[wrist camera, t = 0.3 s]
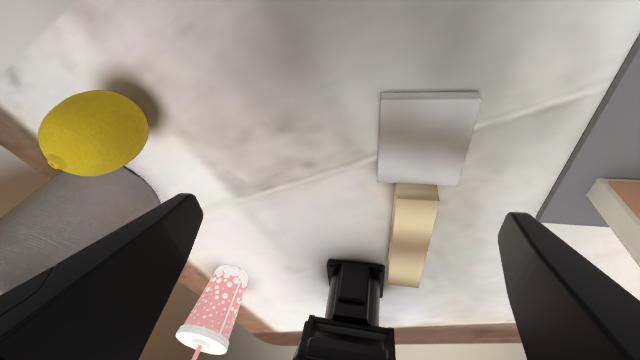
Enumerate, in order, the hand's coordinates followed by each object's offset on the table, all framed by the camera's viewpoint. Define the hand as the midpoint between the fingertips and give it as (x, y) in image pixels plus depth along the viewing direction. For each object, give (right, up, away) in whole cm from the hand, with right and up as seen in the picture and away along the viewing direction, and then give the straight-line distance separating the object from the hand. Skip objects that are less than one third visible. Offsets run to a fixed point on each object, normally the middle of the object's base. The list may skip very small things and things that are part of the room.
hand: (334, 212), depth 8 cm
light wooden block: (+8, 0, +17) cm, 18 cm away
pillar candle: (-23, 0, +24) cm, 33 cm away
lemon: (-16, +7, +16) cm, 23 cm away
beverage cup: (-12, -12, +31) cm, 36 cm away
